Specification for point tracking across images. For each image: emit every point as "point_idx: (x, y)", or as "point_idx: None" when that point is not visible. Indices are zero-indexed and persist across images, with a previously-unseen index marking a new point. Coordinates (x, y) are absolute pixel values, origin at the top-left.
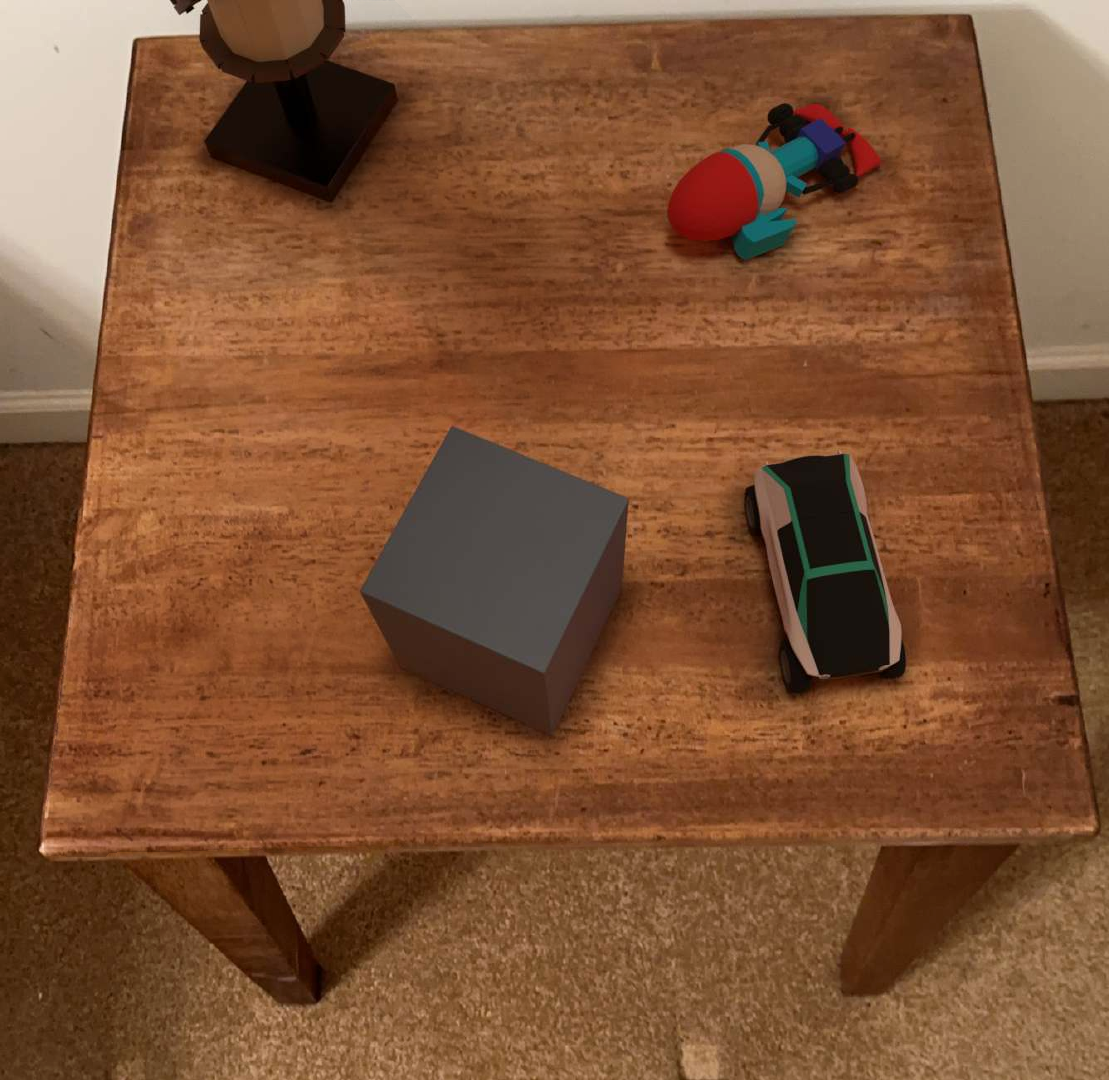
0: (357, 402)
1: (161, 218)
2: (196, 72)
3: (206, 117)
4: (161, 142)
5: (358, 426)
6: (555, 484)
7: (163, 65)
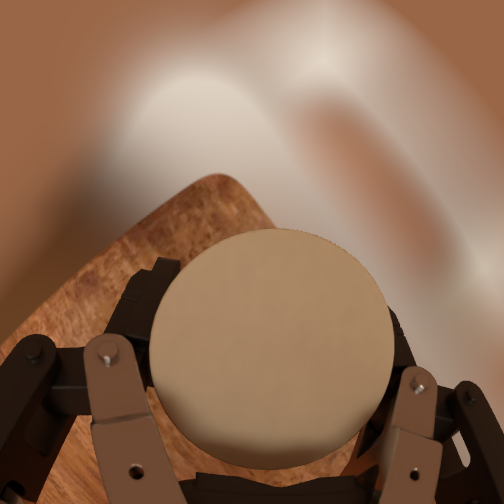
0: (89, 491)
1: (101, 290)
2: (227, 212)
3: (195, 251)
4: (155, 238)
5: (80, 496)
6: None
7: (217, 186)
